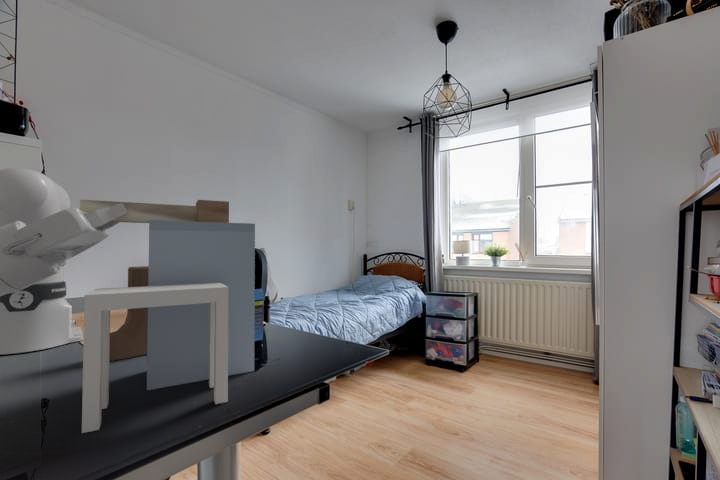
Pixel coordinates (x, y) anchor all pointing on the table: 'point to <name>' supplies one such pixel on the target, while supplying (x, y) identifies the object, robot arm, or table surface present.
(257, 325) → the label tape box
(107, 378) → the stool
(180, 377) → the tall blue-grey box
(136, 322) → the wooden block
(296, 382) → the table surface
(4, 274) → the robot arm
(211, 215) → the long tan plank
